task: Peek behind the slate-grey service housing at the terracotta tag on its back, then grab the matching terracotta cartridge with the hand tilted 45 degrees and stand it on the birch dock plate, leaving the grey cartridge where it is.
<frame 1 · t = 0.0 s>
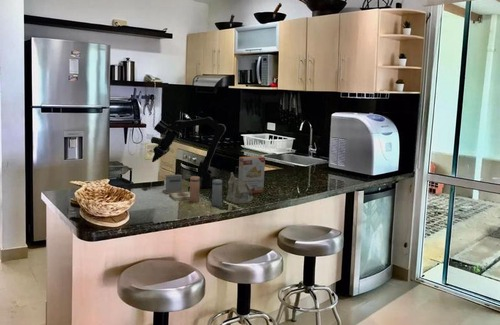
hand: (154, 160, 268), 15 cm above the worktop, fingers open, 9 cm apart
service housing: (173, 192, 254), on the worktop
cracker box: (250, 193, 260), on the worktop
ceramic cottage: (241, 200, 244), on the worktop
birch dock plate: (182, 197, 243), on the worktop
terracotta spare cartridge: (194, 201, 236), on the worktop
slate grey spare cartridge: (216, 205, 230), on the worktop
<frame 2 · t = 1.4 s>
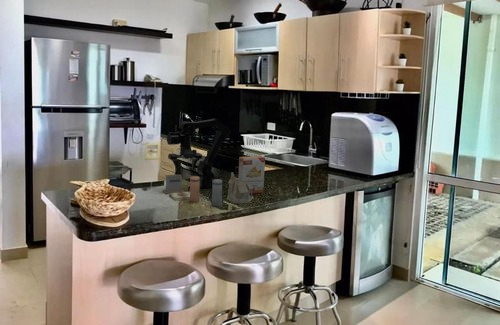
hand: (185, 171, 260), 11 cm above the worktop, fingers open, 9 cm apart
nothing on the worktop moved.
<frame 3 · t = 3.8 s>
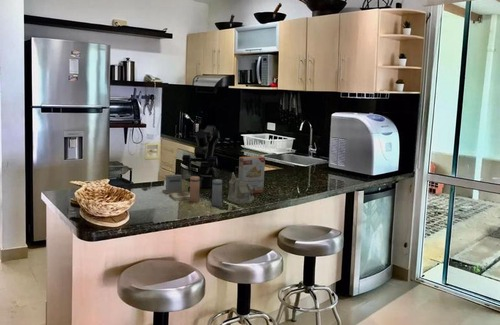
hand: (197, 173, 242), 13 cm above the worktop, fingers open, 9 cm apart
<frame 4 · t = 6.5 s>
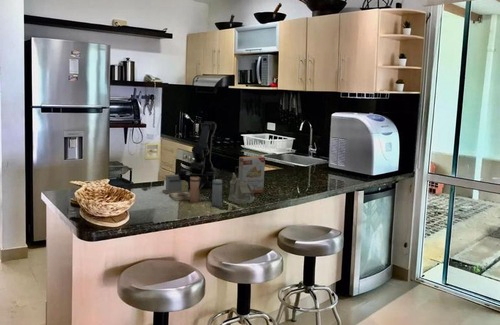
hand: (194, 189, 234), 7 cm above the worktop, fingers closed on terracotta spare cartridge, 5 cm apart
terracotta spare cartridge: (194, 201, 236), on the worktop, touching gripper
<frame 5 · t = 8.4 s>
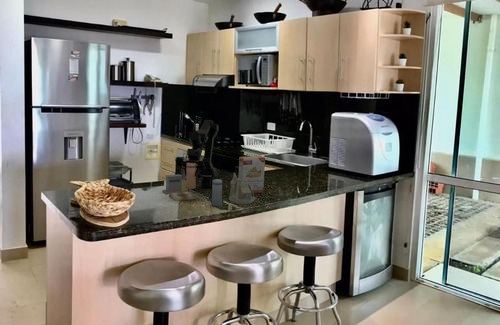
hand: (190, 175, 235), 13 cm above the worktop, fingers closed on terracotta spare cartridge, 5 cm apart
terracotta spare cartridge: (190, 187, 237), point 7 cm above the worktop, touching gripper
when the fingers open (9 cm above the worktop, at t = 10.3 s): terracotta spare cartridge drops 1 cm, resting on birch dock plate.
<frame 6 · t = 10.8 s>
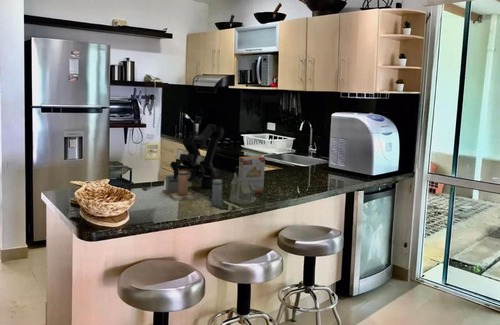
hand: (181, 180, 241), 10 cm above the worktop, fingers open, 9 cm apart
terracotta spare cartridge: (183, 194, 243), point 2 cm above the worktop, touching birch dock plate
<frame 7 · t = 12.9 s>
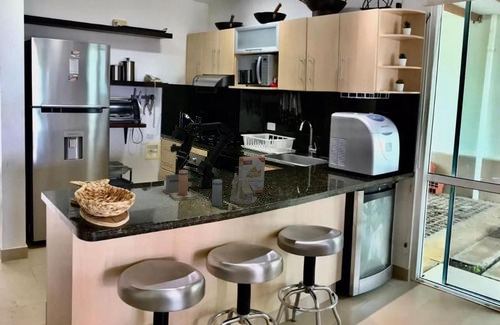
hand: (178, 170, 255), 12 cm above the worktop, fingers open, 9 cm apart
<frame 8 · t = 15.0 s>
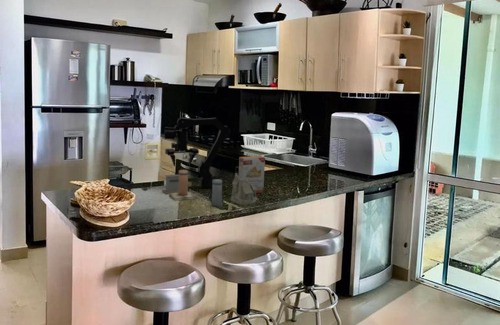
hand: (182, 165, 265), 13 cm above the worktop, fingers open, 9 cm apart
at the end: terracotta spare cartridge inside the target area on the birch dock plate (0.0 cm from its centre), point 1.7 cm above the birch dock plate's base; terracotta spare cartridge tilted 0°; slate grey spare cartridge moved 0.0 cm from its start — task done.
